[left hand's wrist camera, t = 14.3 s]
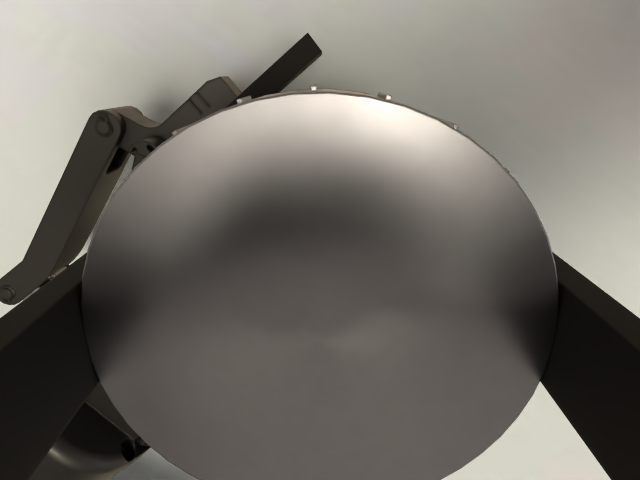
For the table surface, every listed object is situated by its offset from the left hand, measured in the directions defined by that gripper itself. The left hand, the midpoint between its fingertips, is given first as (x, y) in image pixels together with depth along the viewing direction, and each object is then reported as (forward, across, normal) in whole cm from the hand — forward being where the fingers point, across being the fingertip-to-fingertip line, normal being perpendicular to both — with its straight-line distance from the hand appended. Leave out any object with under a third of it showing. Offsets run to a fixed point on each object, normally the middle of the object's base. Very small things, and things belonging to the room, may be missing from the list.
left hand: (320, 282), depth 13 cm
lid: (-3, 0, 0) cm, 3 cm away
